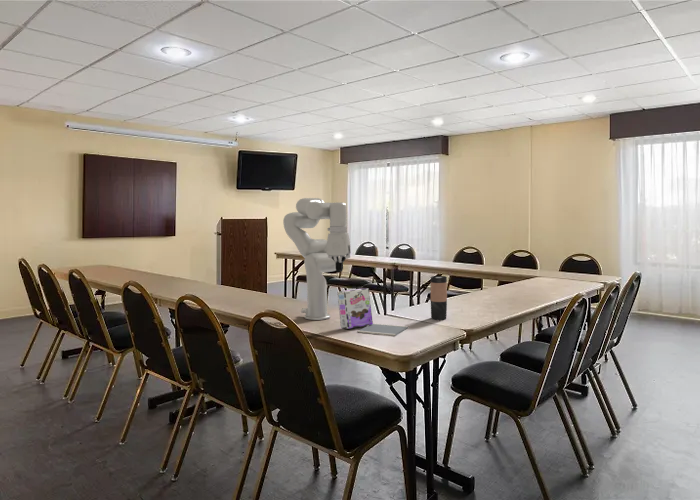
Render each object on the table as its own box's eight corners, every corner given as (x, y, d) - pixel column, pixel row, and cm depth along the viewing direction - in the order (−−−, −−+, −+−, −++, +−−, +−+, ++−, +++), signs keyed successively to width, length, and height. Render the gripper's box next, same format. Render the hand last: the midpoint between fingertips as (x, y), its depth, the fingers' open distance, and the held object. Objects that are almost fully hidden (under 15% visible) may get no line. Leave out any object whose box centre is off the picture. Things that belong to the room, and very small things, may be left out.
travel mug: (449, 319, 235) (449, 277, 234) (435, 320, 233) (435, 278, 231) (442, 316, 242) (442, 275, 241) (427, 317, 240) (427, 276, 238)
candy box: (348, 328, 215) (343, 290, 216) (340, 328, 219) (336, 291, 220) (373, 324, 223) (369, 287, 224) (365, 324, 227) (361, 288, 228)
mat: (357, 332, 212) (357, 330, 212) (372, 324, 226) (372, 323, 226) (395, 336, 205) (395, 334, 205) (408, 327, 219) (408, 326, 219)
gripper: (319, 230, 221) (320, 271, 223) (349, 230, 215) (350, 272, 216) (327, 230, 228) (328, 270, 229) (357, 229, 222) (358, 271, 223)
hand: (339, 271), depth 223 cm, fingers closed
